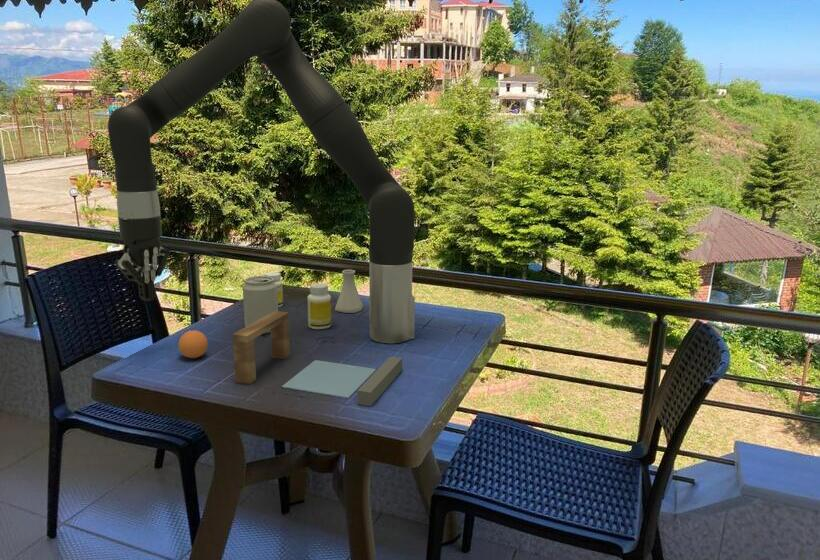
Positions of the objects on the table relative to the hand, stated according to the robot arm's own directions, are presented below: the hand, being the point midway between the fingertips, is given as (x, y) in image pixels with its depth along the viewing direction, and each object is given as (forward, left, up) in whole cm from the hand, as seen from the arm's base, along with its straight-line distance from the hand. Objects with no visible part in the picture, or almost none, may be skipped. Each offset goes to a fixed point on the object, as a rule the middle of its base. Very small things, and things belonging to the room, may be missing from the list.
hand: (147, 299), depth 121 cm
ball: (-8, +6, -8) cm, 13 cm away
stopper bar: (-41, +29, -11) cm, 51 cm away
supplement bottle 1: (-26, -26, -11) cm, 38 cm away
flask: (-44, -18, -11) cm, 49 cm away
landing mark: (-33, +23, -11) cm, 42 cm away
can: (-22, -8, -11) cm, 26 cm away
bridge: (-21, +15, -11) cm, 28 cm away
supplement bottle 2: (-35, -7, -11) cm, 38 cm away
